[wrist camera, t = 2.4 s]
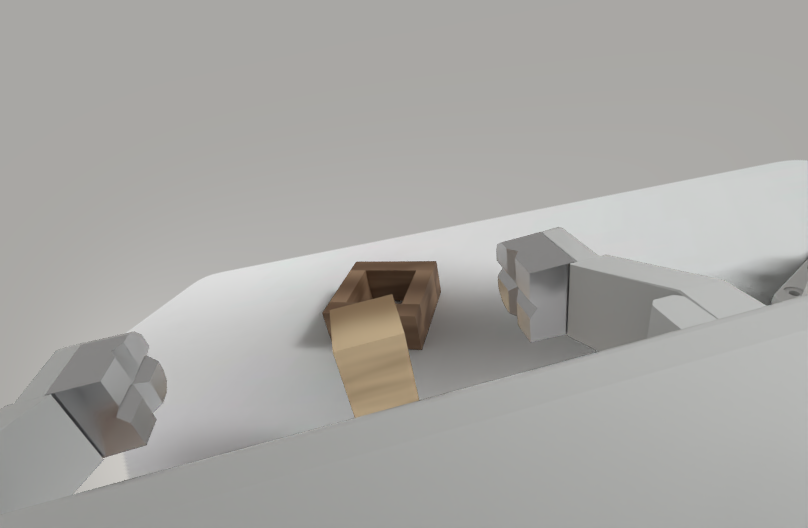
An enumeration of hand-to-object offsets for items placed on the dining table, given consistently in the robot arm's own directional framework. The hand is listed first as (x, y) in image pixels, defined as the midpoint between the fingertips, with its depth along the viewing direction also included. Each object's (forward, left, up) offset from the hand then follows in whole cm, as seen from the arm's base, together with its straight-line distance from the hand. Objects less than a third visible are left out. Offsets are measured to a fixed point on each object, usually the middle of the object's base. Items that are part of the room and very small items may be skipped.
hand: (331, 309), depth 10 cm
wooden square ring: (-21, -26, -25) cm, 42 cm away
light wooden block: (-7, -10, -25) cm, 28 cm away
